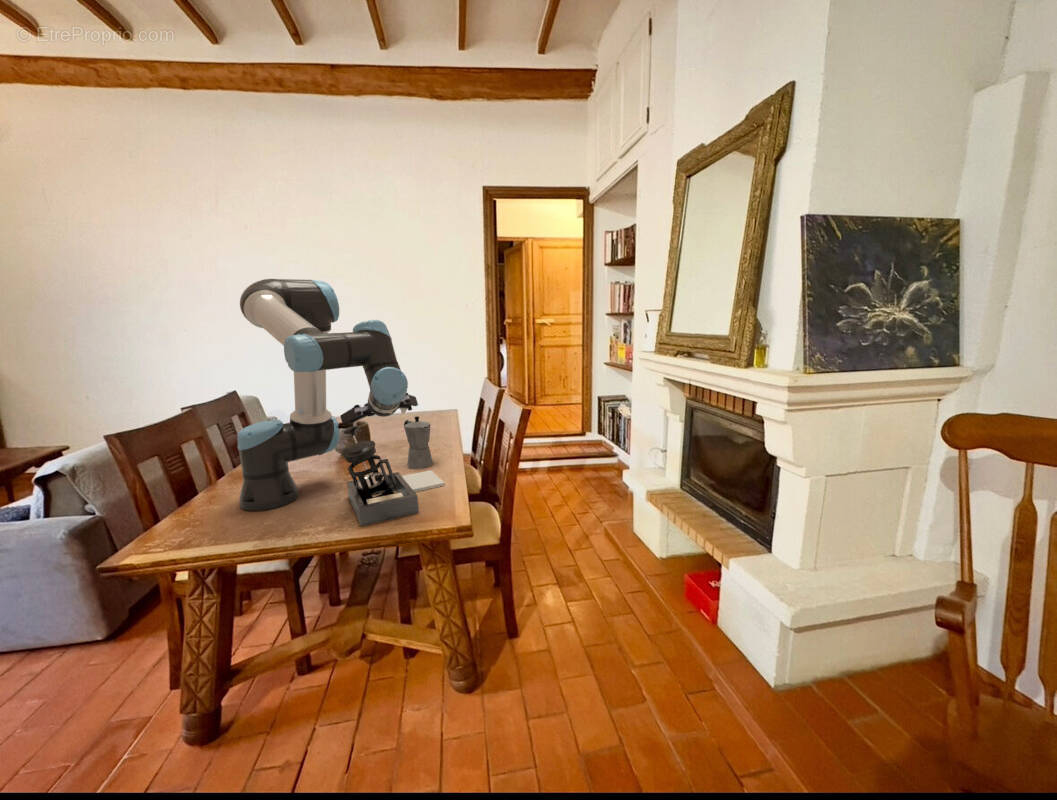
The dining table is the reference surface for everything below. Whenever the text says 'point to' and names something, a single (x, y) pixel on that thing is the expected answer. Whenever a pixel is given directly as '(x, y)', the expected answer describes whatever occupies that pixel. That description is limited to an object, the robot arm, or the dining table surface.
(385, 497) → the offcut stack
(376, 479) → the french press
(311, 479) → the dining table surface
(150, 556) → the dining table surface
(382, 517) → the open box
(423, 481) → the mat
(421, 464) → the coffeepot
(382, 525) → the dining table surface
